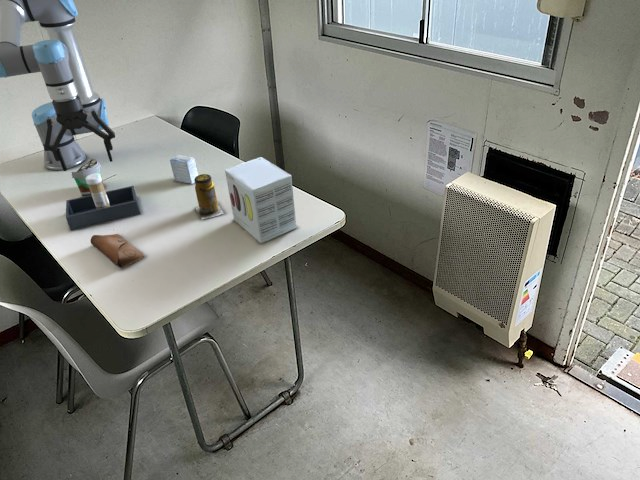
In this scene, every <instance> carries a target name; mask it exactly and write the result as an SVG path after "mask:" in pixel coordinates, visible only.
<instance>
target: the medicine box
mask: <svg viewBox="0 0 640 480" xmlns="http://www.w3.org/2000/svg"><path fill="white" fill-rule="evenodd" d="M169 162H170V166H171V170H172V174H173V179H174V182H180V183H185V184H190V185H193V184H195V177H197V176H198V175H199V172H198V168H197V164H196V159H195V157H192V156H186V155H179V154H177V155H175V156H173V157H172V158H171V159H169Z"/></svg>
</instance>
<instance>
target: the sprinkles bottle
mask: <svg viewBox="0 0 640 480" xmlns="http://www.w3.org/2000/svg"><path fill="white" fill-rule="evenodd" d="M101 176H102V175H101ZM101 176H100V174H91V175H88V176H87V177H86V178H85V179H86V182H87V184H88V186H89V189H90V192H91V195H92V198H93V200H94V203H95V206H96V208H97V209H100V208H104V207H109V206H110V204H109V200H108V197H107V194H106V192H107V191H106V189H105V185H104V183H103V184H102V181H103V178H102V179H101ZM103 185H104V186H103Z"/></svg>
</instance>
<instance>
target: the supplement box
mask: <svg viewBox="0 0 640 480" xmlns="http://www.w3.org/2000/svg"><path fill="white" fill-rule="evenodd" d="M224 174H225V177H226V183H227V189H228V195H229V201H230V206H231V211H232V217H233V220H234V221H235V222H236V223H237V224H239V225H240V227H242V228H243V229H244V230H245V231H246V232H247V233H248V234H249V235H251V236H252V237H253V238H254V239H255V240H256V241H257V242H258V243H259V244H264V243H266V242H268V241H270V240H273V239H274V238H277V237H279V236H281V235H284V234H286V233H288V232H291V231H293V230H295V229H297V227H298V226H297V218H296V209H295V208H296V207H295V199H294V187H293V178H292V174H291V173H288V172H287V171H286V170H284V169H282V168H280V166H278V165H276V164H274V163H272V162H271V161H269V160H267V159H266V158H264V157H262V156H260V157H256V158H253V159H250V160H248V161H244V162H242V163H239V164H236V165H235V166H234V165H233V166H230V167H228V168H225V169H224Z"/></svg>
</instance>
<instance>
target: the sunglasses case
mask: <svg viewBox="0 0 640 480" xmlns="http://www.w3.org/2000/svg"><path fill="white" fill-rule="evenodd" d="M90 244H91V245H92V246H93V247H94V248H95V249H97V250H98V251H99V252H101V254H103V255H104V256H105V257H106V258H107V259H108V260H109V261H110V262H112V263H113V264H114V265H115V266H116V267H118V268H120V269H125V268H128V267H130V266H132V265H133V264H135V263H136V262H139V261H140V260H142V259H143V258H144V257H145V255H144V254H143V252H141V251H140V250H138V249H137V248H136V247H134V246H133V245H132V244H130V242H128V241H127V240H126V239H125V238H123V237H122V236H121V235H120V234H119V233H115V234H101V235H100V234H93V235H92V236H91V237H90Z"/></svg>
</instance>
